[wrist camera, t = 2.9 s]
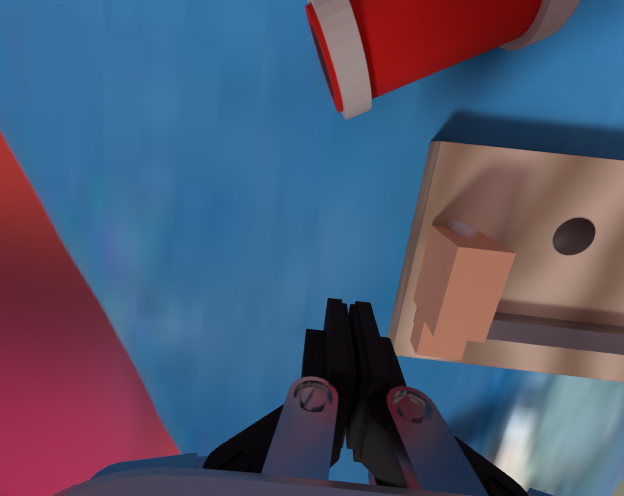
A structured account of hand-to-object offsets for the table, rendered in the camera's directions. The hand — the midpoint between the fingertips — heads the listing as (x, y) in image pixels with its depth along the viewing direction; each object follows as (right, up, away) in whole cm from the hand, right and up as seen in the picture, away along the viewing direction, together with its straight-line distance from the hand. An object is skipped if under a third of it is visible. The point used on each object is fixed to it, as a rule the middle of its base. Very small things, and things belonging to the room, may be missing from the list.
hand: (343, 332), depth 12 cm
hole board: (+20, +2, +11) cm, 23 cm away
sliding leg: (+8, +1, +9) cm, 12 cm away
